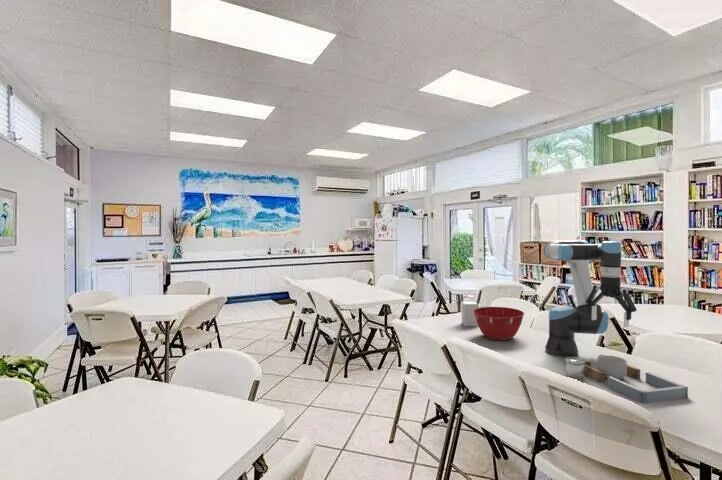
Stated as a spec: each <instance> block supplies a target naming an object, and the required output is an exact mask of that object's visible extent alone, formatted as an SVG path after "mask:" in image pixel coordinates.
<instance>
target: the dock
mask: <svg viewBox="0 0 722 480" xmlns="http://www.w3.org/2000/svg"><path fill="white" fill-rule="evenodd" d="M645 383H647V384H650V385H652V386H654V387H656V388H654V389H647V390H642V389H640V388H638V387H636V386H634V385H631V384H629V383H626V382H625V381H622V380H621V379H620V380H618V379H616V378H614V377H608V379H607V387H608V388H610V389H612V390H615V391H617V392H618V393H620V394H622V395H624V396H626V397H629V398H631V399H633V400H635V401H637V402H639V403H641V404H651V403H657V402H658V403H659V402H667V401H674V400H680V399H687V398H688V397H689V396H688V395H689V390H688V389H689V387H688V386H685V385H683V384H680V383H678V382H676V381H673V380H670V379H668V378H665V377H662V376H660V375H657V374H654V373H652V372H649V371H648V372H645Z"/></svg>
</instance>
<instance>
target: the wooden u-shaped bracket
mask: <svg viewBox="0 0 722 480" xmlns="http://www.w3.org/2000/svg"><path fill="white" fill-rule="evenodd" d="M584 361H585V364H584V376H585V377H588V378H591V379H593V380H595V381H596V380H597V382H599V383H601V384H606V378H605V373H604V372H601V371H599V370H598V368H597V369H596V368H595V367H592V362H591V361H589V360H584ZM626 376H629V377H631V378H634V379H636V380H639V379H641V369H640V368H638V367H635V366H633V365H630V364H628V363H627V375H626Z"/></svg>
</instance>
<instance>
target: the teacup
mask: <svg viewBox="0 0 722 480" xmlns="http://www.w3.org/2000/svg"><path fill="white" fill-rule="evenodd" d="M596 360H597V370H599V371H601V372H604V373H605V379H607V380H608V377H614V378H616V379H618V380H620V381H621V380H623V379H624V378H626V377H627V376H628V375H627V364H628V360H626V359H625V358H623V357H620V356H617V355H606V354H605V355H604V354H598V357H597V359H596Z"/></svg>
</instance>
